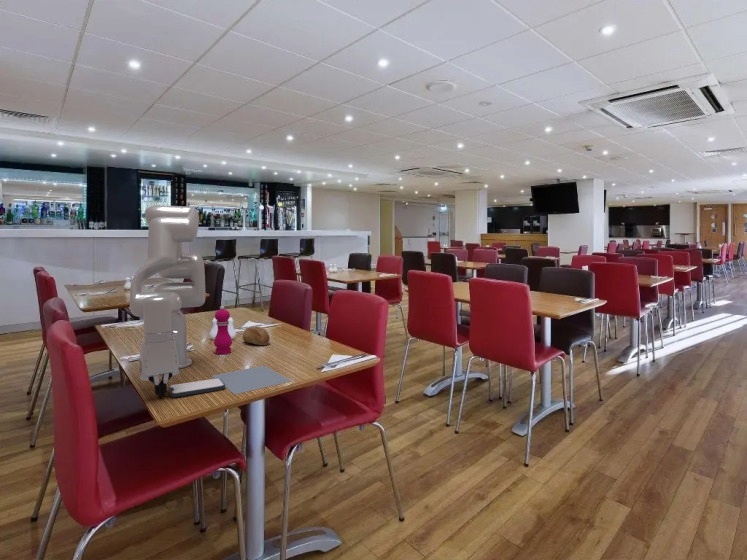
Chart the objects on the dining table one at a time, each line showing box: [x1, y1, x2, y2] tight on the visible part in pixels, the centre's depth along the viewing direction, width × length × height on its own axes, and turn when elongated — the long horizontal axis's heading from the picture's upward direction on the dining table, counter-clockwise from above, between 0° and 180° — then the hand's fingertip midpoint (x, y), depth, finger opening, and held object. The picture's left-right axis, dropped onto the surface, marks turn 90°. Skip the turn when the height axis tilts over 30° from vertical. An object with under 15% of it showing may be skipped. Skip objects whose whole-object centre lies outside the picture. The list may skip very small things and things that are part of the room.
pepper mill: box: [213, 305, 233, 356], centre depth 178 cm, size 7×7×20 cm
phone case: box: [167, 378, 226, 398], centre depth 135 cm, size 9×2×16 cm
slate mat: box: [211, 365, 292, 395], centre depth 147 cm, size 22×20×1 cm
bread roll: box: [242, 325, 270, 346], centre depth 194 cm, size 10×15×8 cm, turn 54°
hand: (161, 395), depth 129 cm, fingers closed
